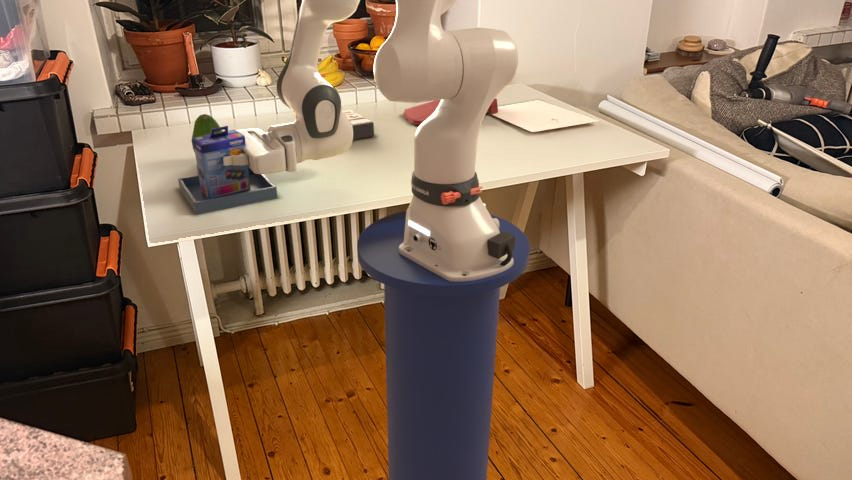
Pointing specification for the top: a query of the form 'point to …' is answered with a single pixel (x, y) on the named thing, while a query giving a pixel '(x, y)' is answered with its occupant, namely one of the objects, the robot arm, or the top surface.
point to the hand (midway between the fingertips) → (218, 156)
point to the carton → (426, 110)
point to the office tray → (201, 204)
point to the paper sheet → (540, 116)
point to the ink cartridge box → (220, 163)
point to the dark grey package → (360, 125)
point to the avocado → (204, 126)
